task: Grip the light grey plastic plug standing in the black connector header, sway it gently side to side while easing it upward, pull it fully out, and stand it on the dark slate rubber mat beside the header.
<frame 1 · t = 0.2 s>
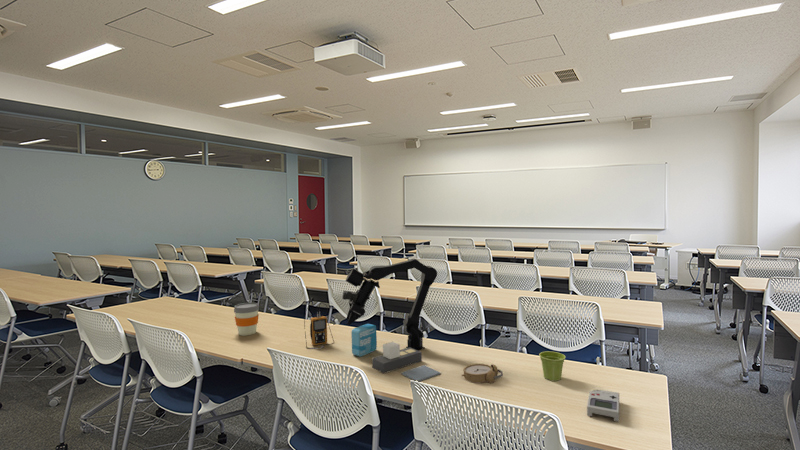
hand: (347, 321, 188), 15 cm above the table, tool tilted 30°, fingers open, 9 cm apart
mat: (420, 374, 165), on the table
plug: (391, 366, 173), resting in header
header: (397, 364, 175), on the table
alarm clock: (482, 378, 160), on the table
data package: (364, 353, 190), on the table
plant pot: (552, 378, 159), on the table
reusable coffee cup: (247, 333, 224), on the table
handheld gaming device: (603, 410, 134), on the table
multimeter: (321, 346, 200), on the table
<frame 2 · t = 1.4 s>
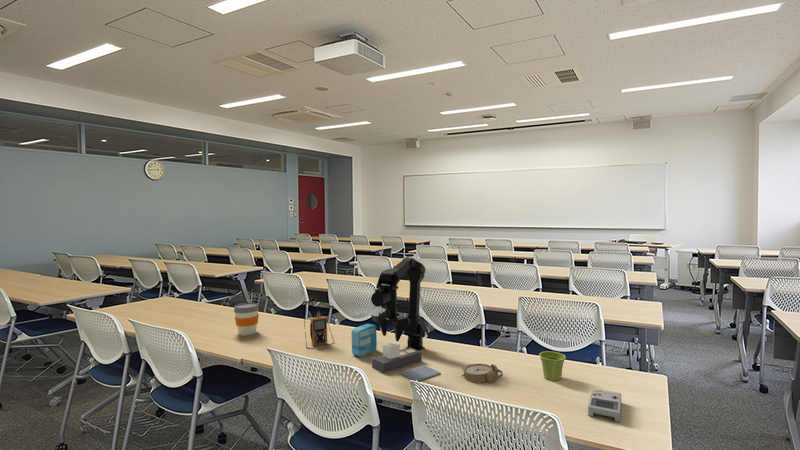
hand: (390, 338, 173), 12 cm above the table, tool pointing down, fingers open, 9 cm apart
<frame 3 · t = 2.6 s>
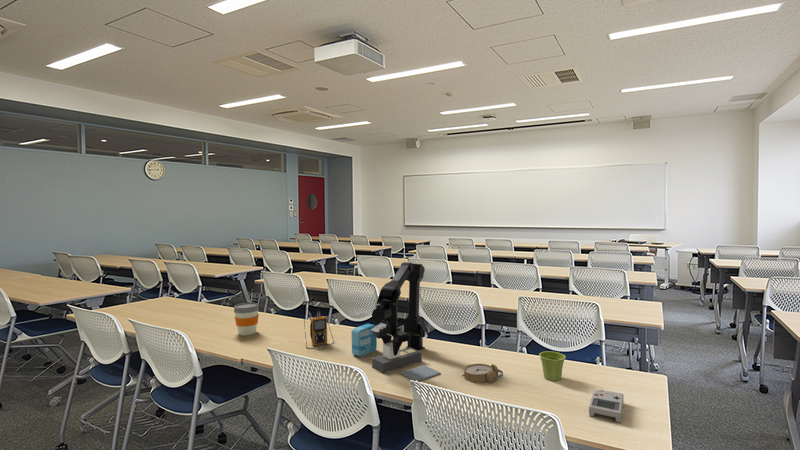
hand: (391, 353, 173), 5 cm above the table, tool pointing down, fingers closed on plug, 5 cm apart
plug: (391, 366, 173), resting in header, touching gripper
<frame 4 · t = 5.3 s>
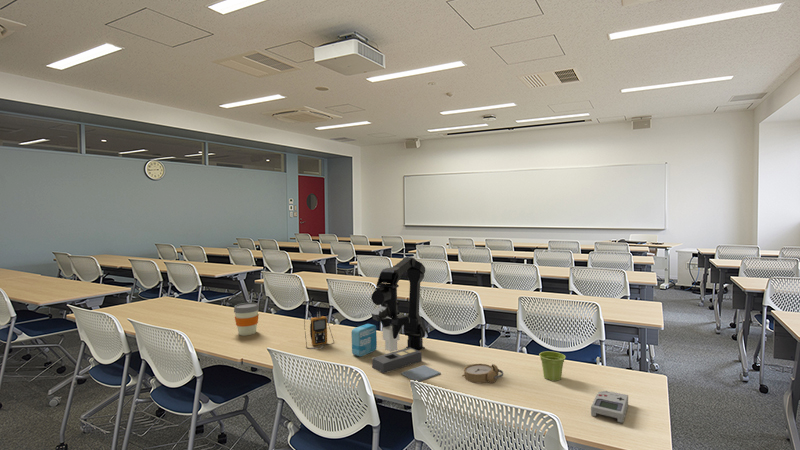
hand: (391, 336, 173), 12 cm above the table, tool pointing down, fingers closed on plug, 5 cm apart
plug: (391, 349, 173), point 7 cm above the table, touching gripper
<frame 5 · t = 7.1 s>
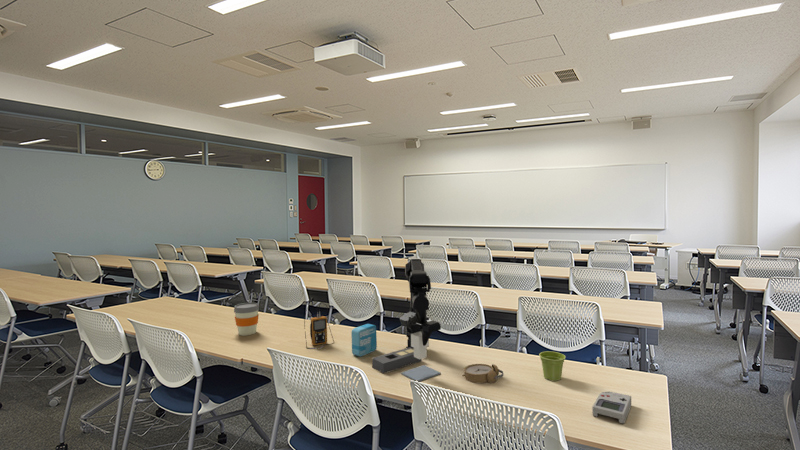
hand: (420, 343, 164), 12 cm above the table, tool pointing down, fingers closed on plug, 5 cm apart
plug: (420, 357, 164), point 7 cm above the table, touching gripper
when the fingers open (7 cm above the table, at t = 8.3 s): plug drops 1 cm, resting on mat.
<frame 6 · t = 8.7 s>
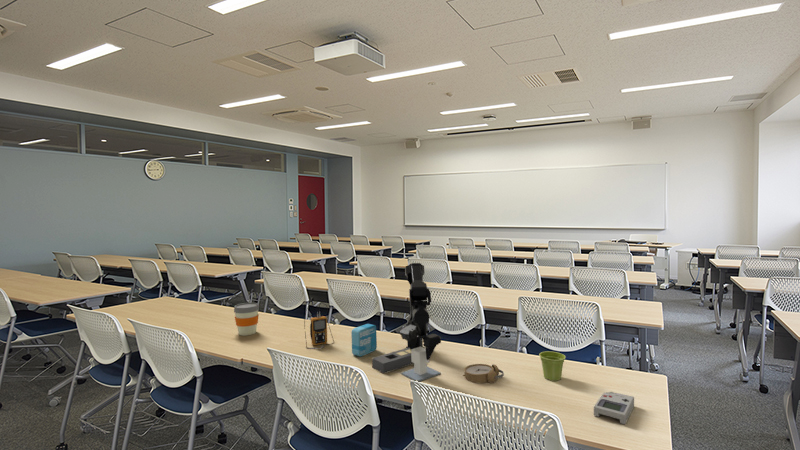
hand: (420, 356, 164), 7 cm above the table, tool pointing down, fingers open, 9 cm apart
plug: (420, 372, 165), point 1 cm above the table, touching mat
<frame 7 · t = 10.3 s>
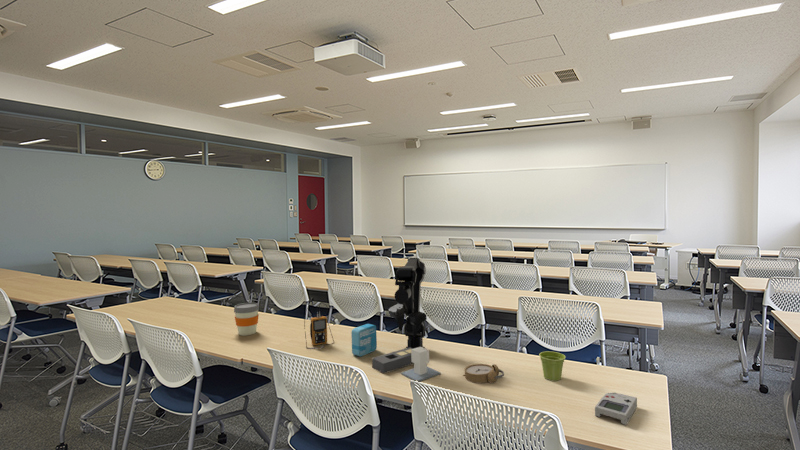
hand: (407, 333, 177), 13 cm above the table, tool pointing down, fingers open, 9 cm apart
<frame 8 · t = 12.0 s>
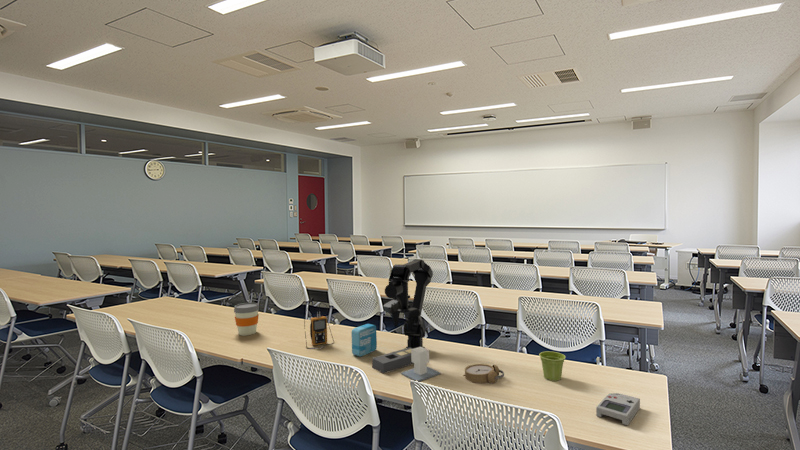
hand: (402, 328, 181), 13 cm above the table, tool pointing down, fingers open, 9 cm apart
at the end: plug inside the target area on the mat (0.0 cm from its centre), point 0.6 cm above the mat's base; plug tilted 0°; the gripper is holding nothing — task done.
